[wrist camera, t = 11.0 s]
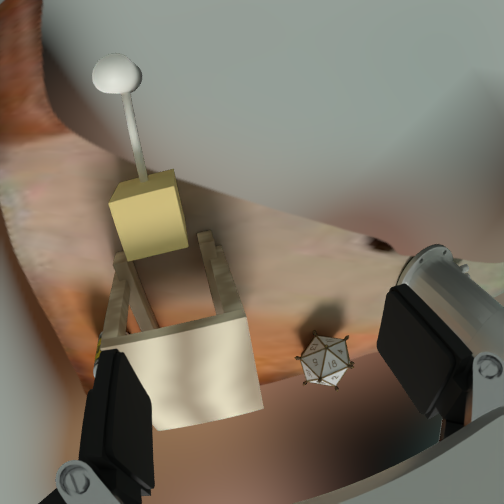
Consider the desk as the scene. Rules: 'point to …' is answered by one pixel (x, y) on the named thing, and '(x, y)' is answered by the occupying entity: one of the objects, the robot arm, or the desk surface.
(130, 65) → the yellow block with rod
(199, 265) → the desk surface
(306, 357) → the game die
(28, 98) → the desk surface
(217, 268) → the birch shelf
